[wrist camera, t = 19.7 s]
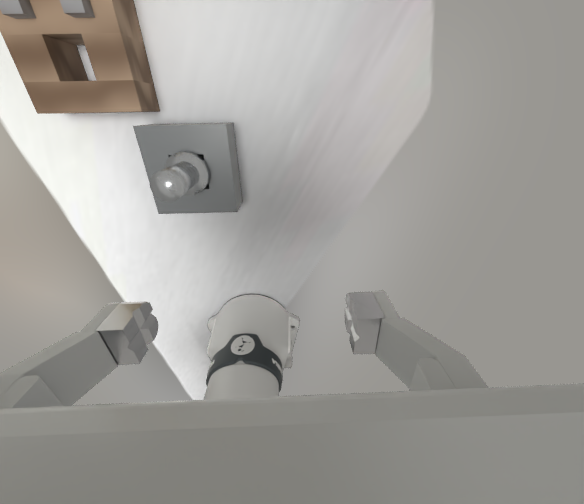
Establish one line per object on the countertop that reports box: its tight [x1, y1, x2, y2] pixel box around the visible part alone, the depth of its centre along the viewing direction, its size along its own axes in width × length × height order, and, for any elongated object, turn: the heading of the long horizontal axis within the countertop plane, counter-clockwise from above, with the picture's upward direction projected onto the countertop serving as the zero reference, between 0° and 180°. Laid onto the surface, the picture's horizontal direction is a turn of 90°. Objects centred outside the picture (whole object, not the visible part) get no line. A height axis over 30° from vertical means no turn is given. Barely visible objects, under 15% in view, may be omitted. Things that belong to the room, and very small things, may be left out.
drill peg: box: [150, 151, 210, 202], centre depth 31 cm, size 5×5×12 cm
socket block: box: [0, 0, 160, 113], centre depth 26 cm, size 16×12×6 cm
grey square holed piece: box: [133, 123, 242, 214], centre depth 35 cm, size 11×11×5 cm
